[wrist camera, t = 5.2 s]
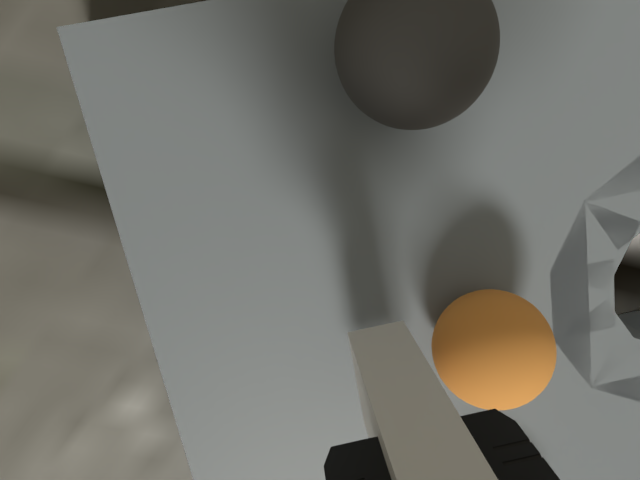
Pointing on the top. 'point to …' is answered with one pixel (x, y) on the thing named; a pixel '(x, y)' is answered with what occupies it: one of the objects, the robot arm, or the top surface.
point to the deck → (364, 219)
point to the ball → (494, 349)
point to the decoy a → (416, 58)
